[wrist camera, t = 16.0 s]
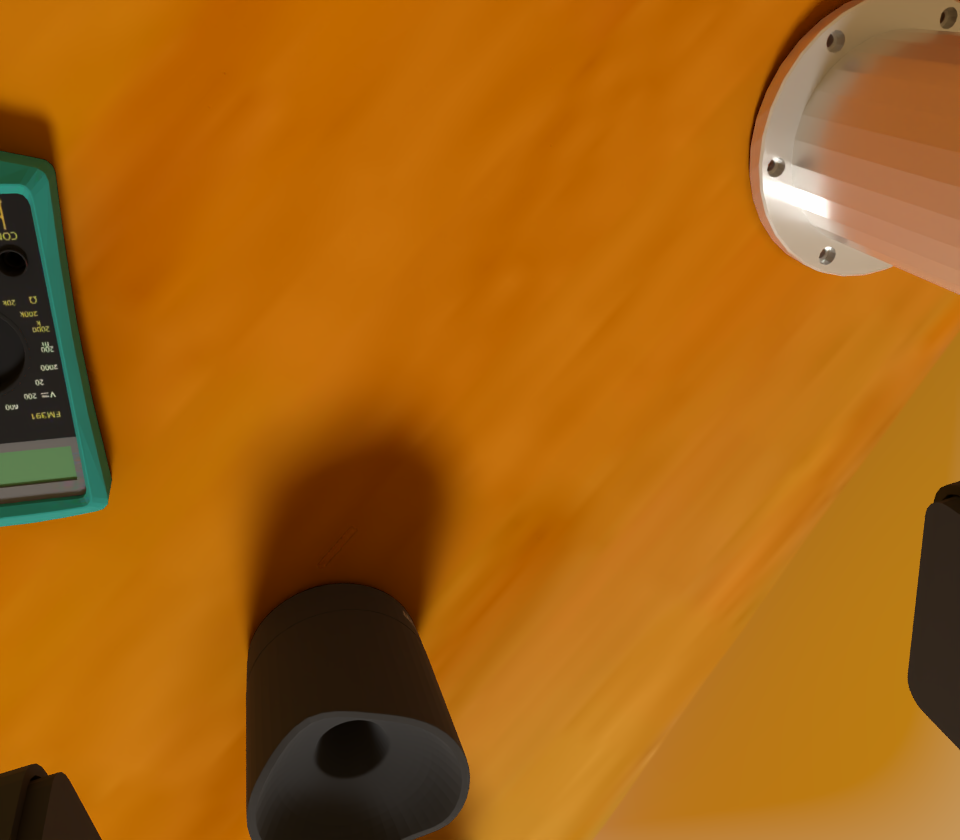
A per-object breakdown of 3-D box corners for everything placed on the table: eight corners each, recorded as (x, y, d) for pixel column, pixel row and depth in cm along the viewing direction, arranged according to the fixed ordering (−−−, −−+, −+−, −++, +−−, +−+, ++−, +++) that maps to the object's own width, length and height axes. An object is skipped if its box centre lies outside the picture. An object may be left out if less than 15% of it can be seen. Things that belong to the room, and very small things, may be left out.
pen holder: (395, 721, 50) (434, 878, 41) (222, 713, 47) (226, 882, 38) (443, 581, 47) (497, 721, 38) (261, 562, 43) (275, 709, 35)
